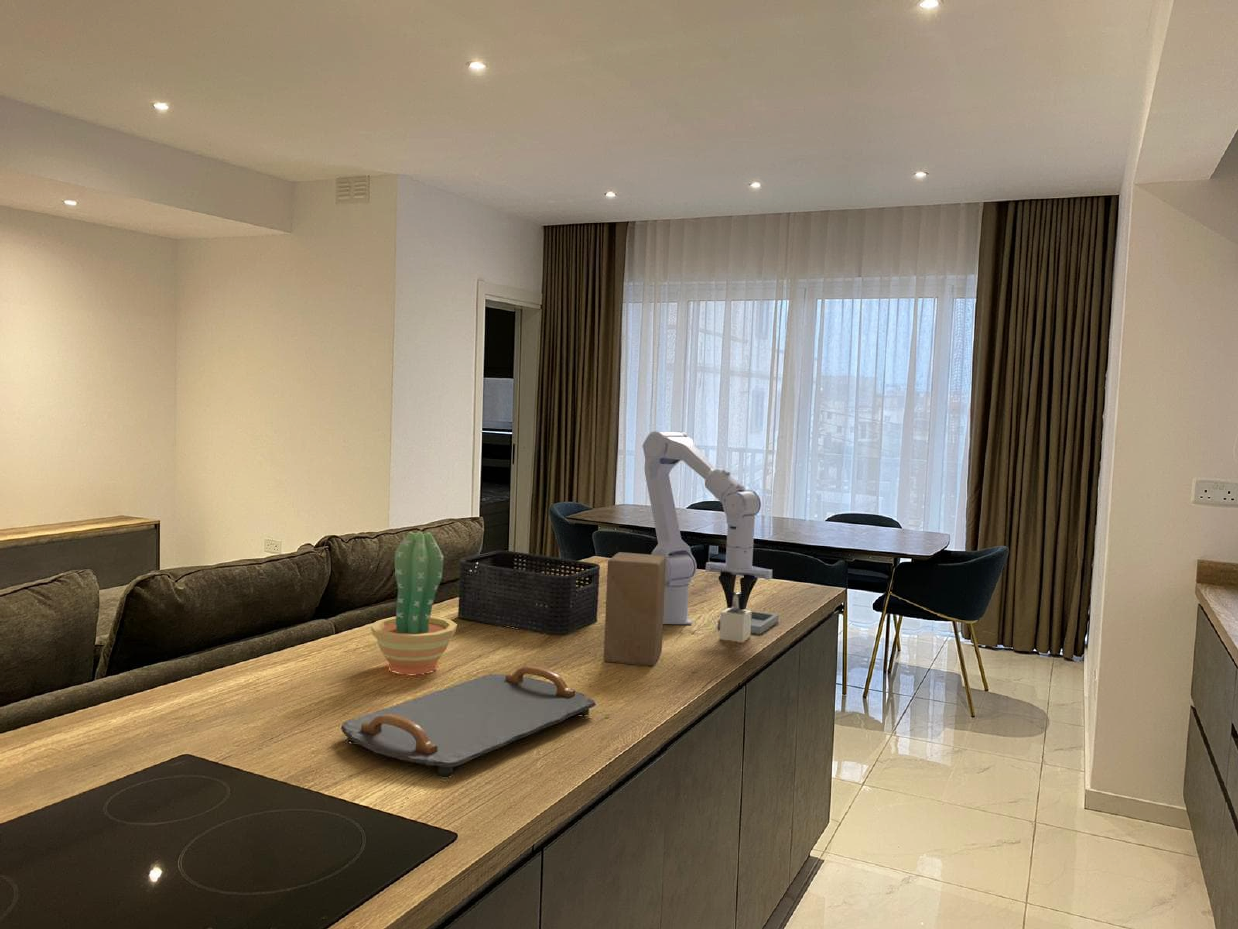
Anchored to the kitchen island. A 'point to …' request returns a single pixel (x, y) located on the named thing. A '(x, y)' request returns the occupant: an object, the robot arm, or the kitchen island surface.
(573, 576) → the storage bin
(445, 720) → the serving board
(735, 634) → the cream block
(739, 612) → the cylinder
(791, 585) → the kitchen island surface
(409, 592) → the potted cactus
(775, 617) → the tray
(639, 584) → the wooden block
